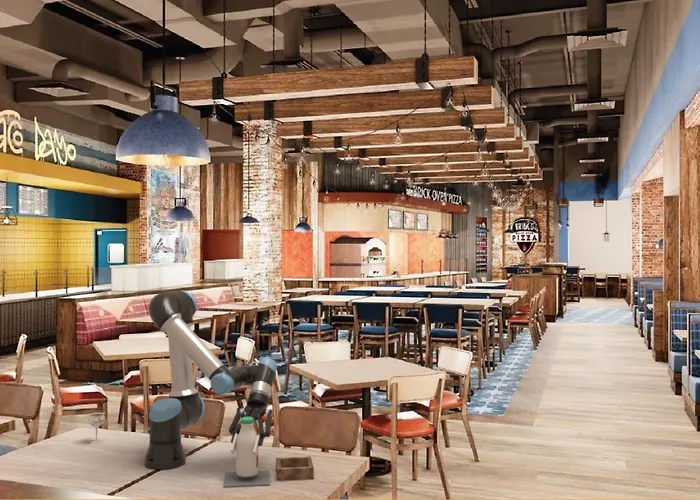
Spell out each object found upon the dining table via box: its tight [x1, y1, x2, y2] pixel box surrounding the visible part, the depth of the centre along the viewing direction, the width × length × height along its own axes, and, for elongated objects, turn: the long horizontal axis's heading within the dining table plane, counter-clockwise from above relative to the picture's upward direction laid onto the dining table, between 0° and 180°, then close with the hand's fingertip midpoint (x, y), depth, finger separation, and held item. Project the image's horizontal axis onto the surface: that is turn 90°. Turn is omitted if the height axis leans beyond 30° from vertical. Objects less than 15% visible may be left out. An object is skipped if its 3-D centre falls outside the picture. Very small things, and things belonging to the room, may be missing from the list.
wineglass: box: [87, 411, 106, 445], centre depth 289 cm, size 7×7×12 cm
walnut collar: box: [275, 455, 315, 481], centre depth 251 cm, size 13×13×4 cm
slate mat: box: [223, 470, 271, 489], centre depth 245 cm, size 16×14×1 cm
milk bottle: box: [235, 416, 259, 477], centre depth 245 cm, size 8×8×20 cm
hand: (243, 452), depth 242 cm, fingers closed on milk bottle, 8 cm apart
